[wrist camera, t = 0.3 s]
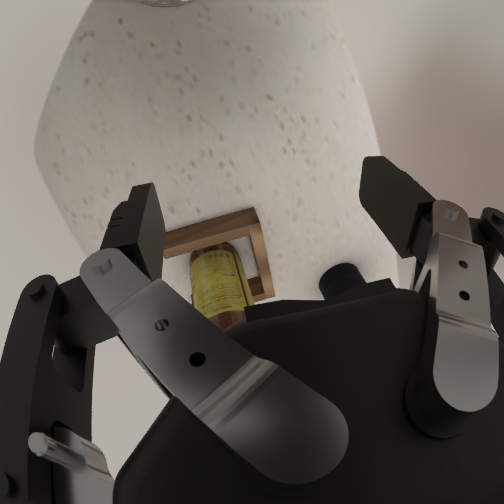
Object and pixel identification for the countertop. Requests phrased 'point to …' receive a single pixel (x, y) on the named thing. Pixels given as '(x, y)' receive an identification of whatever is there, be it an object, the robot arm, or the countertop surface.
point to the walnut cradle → (222, 232)
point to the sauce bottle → (219, 285)
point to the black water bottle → (340, 280)
